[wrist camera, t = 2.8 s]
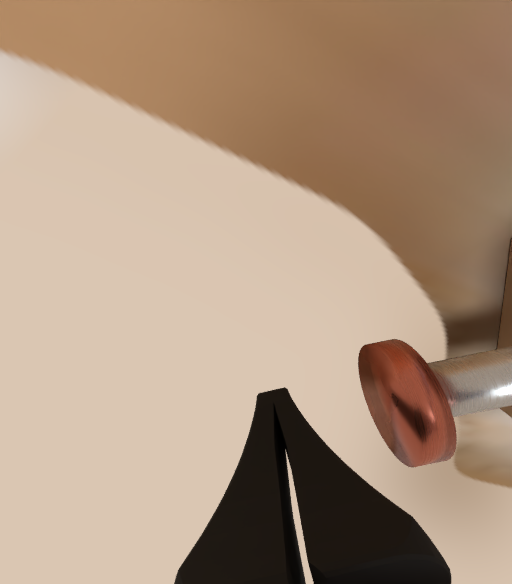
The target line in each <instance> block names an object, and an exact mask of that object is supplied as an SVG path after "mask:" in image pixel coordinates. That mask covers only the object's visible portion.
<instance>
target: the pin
mask: <svg viewBox="0 0 512 584" xmlns="http://www.w3.org/2000/svg"><path fill="white" fill-rule="evenodd" d="M358 361H359V362H358V367H359V375H360V381H361V385H362V390H363V393H364V397H365V400H366V403H367V405H368V408H369V411H370V413H371V416H372V418H373V420H374V422H375V424H376V426H377V429H378V430H379V432H380V434H381V436H382V438H383V439H384V441H385V442H386V444H387V446H388V447H389V449H390V450H391V451H392V452H393V454H394V455H395V456H396V457H397V458H398V459H399V460H400V461H401V462H402V463H404V464H405V465H407V466H409V467H417V466H422V465H426V464H431V463H436V462H441V461H447V460H449V459H450V458H451V457H452V456H453V455H454V452H455V449H456V428H455V423H454V418H453V417H457V416H462V415H467V414H472V413H477V412H482V411H486V410H491V409H496V408H501V407H506V406H511V405H512V346H511V347H506V348H501V349H496V350H491V351H486V352H481V353H476V354H471V355H466V356H461V357H456V358H451V359H446V360H442V361H437V362H432V363H426V362H425V360H424V359H423V358H422V357H421V356H420V355H419V354H418V353H417V351H415V350H414V349H413V348H412V347H411V346H409V345H408V344H407V343H405V342H403V341H400V340H397V339H392V340H387V341H382V342H377V343H372V344H367V345H364V346H363V347H362V348H361V350H360V353H359V358H358Z"/></svg>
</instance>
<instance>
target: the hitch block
mask: <svg viewBox="0 0 512 584" xmlns="http://www.w3.org/2000/svg"><path fill="white" fill-rule="evenodd" d="M511 346H512V238H511V246H510V254H509V262H508V269H507V277H506V285H505V292H504V300H503V308H502V315H501V323H500V331H499V338H498V346H497V349H501V348H506V347H511ZM500 409H501V410H503V411H504V412H505V413H507V414H508V415H509V416H510V417H512V405H511V406H506V407H501V408H500Z"/></svg>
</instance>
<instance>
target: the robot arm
mask: <svg viewBox="0 0 512 584" xmlns="http://www.w3.org/2000/svg"><path fill="white" fill-rule="evenodd" d="M285 449H286V451H285ZM286 452H287V456H288V459H289V463H290V466H291V469H292V475H293V481H294V486H295V491H296V497H297V502H298V507H299V513H300V519H301V525H302V530H303V536H304V541H305V547H306V553H307V559H308V563H309V567H310V571H311V574H312V578H313V581H314V584H451V573H450V569H449V567H448V565H447V564H446V562H445V560H444V558H443V557H442V555H441V554H440V552H439V551H438V550H437V548H436V547H435V545H434V544H433V543H432V541H431V539H430V538H429V537H428V536H427V534H426V533H425V532H424V530H423V529H422V528H421V527H420V525H419V524H418V523H417V522H416V521H415V519H414V518H413V517H412V516H411V515H409V514H408V513H407V512H405V511H404V510H402V509H401V508H399V507H398V506H397V505H395V504H394V503H393V502H391V501H390V500H389V499H387V498H386V497H385V496H383V495H382V494H381V493H379V492H378V491H377V490H376V489H374V488H373V487H372V486H370V485H369V484H368V483H367V482H366V481H365V480H364V479H362V478H361V477H360V476H359V475H358V474H357V473H355V472H354V471H353V470H352V469H351V468H350V467H349V466H347V465H346V464H345V463H344V462H343V461H342V460H341V459H340V458H339V457H338V456H337V455H336V454H335V453H334V452H333V451H332V450H331V449H330V448H329V447H328V446H327V445H326V443H325V442H324V441H323V440H322V439H321V438H320V437H319V436H318V434H317V433H316V432H315V431H314V430H313V428H312V427H311V426H310V425H309V423H308V422H307V421H306V419H305V418H304V417H303V415H302V414H301V412H300V411H299V410H298V408H297V406H296V405H295V403H294V402H293V400H292V398H291V396H290V394H289V392H288V389H286V388H280V389H276V390H272V391H268V392H263V393H259V394H258V395H257V401H256V408H255V412H254V417H253V421H252V425H251V428H250V432H249V435H248V438H247V441H246V444H245V447H244V450H243V453H242V456H241V458H240V461H239V463H238V466H237V468H236V470H235V473H234V475H233V477H232V479H231V482H230V484H229V486H228V488H227V490H226V492H225V494H224V496H223V498H222V500H221V502H220V504H219V506H218V507H217V509H216V511H215V513H214V514H213V516H212V518H211V520H210V521H209V523H208V525H207V527H206V528H205V530H204V532H203V533H202V535H201V537H200V538H199V540H198V541H197V543H196V544H195V546H194V547H193V549H192V550H191V552H190V553H189V555H188V556H187V558H186V559H185V561H184V562H183V564H182V565H181V567H180V568H179V570H178V573H177V576H176V579H175V583H174V584H306V583H305V577H304V572H303V567H302V562H301V557H300V551H299V546H298V540H297V535H296V530H295V524H294V519H293V512H292V505H291V496H290V488H289V478H288V470H287V460H286Z"/></svg>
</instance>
